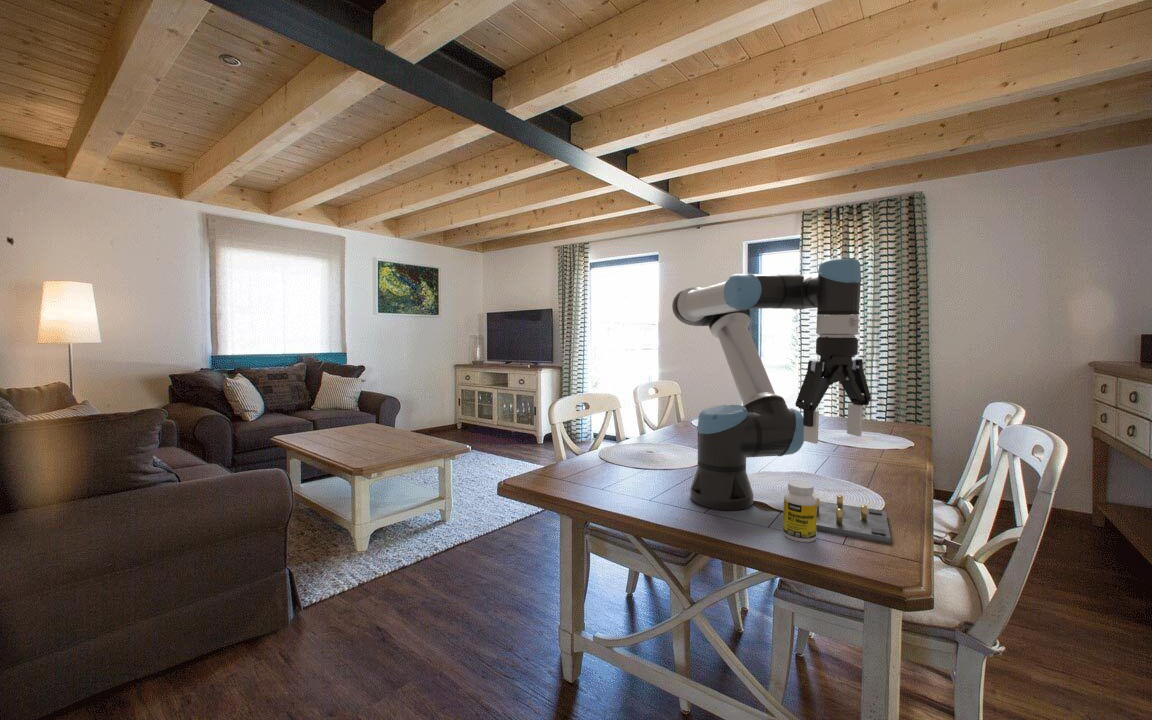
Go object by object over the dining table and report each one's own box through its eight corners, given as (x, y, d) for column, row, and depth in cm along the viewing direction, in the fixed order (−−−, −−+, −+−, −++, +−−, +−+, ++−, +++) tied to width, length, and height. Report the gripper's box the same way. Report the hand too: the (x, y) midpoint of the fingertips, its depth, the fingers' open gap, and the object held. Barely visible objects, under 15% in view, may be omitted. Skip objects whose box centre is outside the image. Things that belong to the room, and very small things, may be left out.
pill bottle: (783, 540, 95) (784, 487, 94) (782, 528, 101) (783, 478, 100) (818, 545, 93) (819, 490, 92) (814, 532, 99) (815, 481, 98)
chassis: (791, 525, 102) (791, 506, 102) (797, 502, 116) (798, 485, 116) (890, 543, 93) (891, 523, 93) (884, 516, 107) (885, 498, 107)
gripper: (811, 337, 87) (807, 449, 89) (893, 335, 98) (888, 435, 100) (778, 336, 94) (775, 441, 96) (858, 334, 105) (854, 428, 107)
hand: (832, 438), depth 98 cm, fingers open, 13 cm apart
